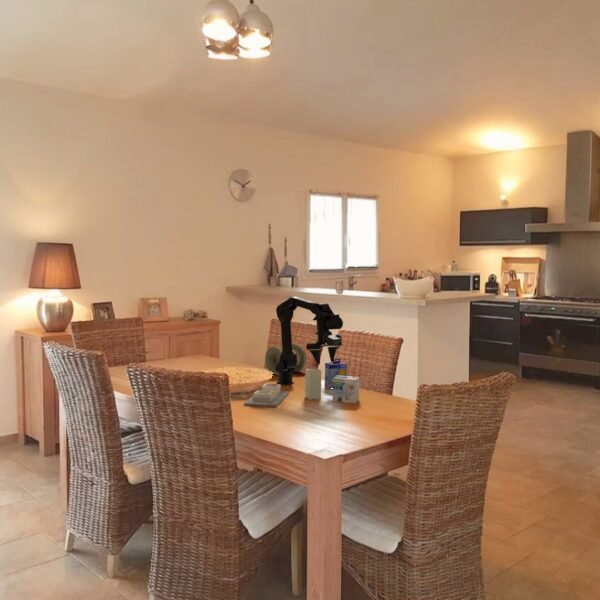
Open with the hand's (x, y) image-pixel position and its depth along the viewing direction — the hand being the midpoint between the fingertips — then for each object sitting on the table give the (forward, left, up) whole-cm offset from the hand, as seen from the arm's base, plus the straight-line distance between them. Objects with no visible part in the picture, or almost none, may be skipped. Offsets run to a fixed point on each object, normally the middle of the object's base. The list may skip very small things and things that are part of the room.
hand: (325, 363), depth 294 cm
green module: (+3, -12, -14) cm, 19 cm away
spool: (-45, +22, -14) cm, 52 cm away
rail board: (-10, -28, -14) cm, 33 cm away
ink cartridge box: (-3, +12, -14) cm, 19 cm away
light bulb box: (+17, -6, -14) cm, 23 cm away
